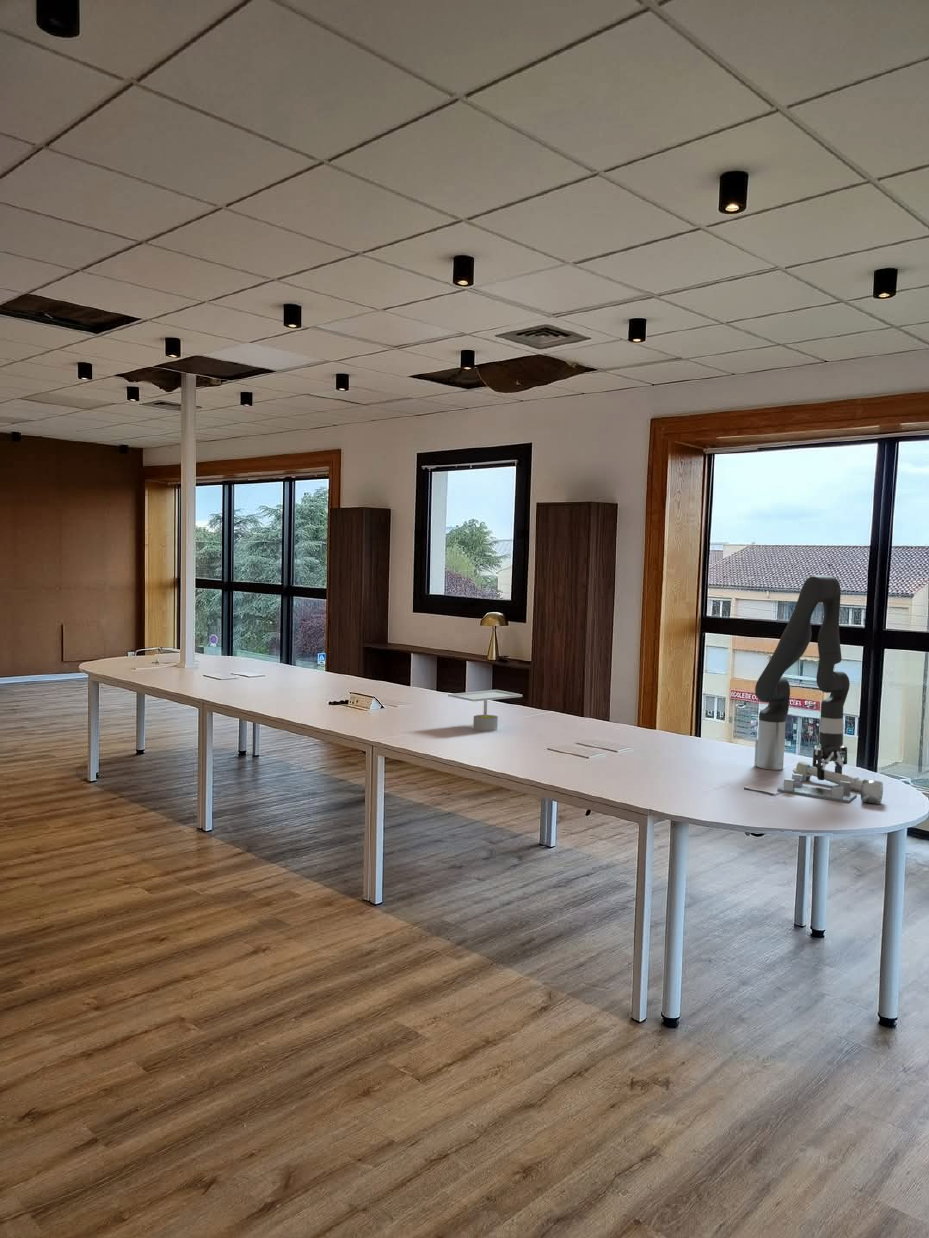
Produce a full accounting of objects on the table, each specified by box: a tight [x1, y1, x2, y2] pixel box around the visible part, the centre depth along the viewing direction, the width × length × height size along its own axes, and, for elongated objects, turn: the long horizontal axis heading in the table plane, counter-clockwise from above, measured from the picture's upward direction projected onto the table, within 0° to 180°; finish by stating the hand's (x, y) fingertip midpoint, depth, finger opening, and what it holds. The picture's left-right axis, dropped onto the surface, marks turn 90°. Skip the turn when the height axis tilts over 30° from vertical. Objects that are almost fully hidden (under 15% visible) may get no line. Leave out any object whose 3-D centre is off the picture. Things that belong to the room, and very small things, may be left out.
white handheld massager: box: [792, 761, 864, 793], centre depth 309 cm, size 5×7×25 cm
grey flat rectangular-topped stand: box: [447, 689, 523, 732], centre depth 395 cm, size 28×17×15 cm, turn 129°
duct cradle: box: [776, 773, 884, 805], centre depth 293 cm, size 30×10×7 cm, turn 54°
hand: (829, 778), depth 308 cm, fingers open, 8 cm apart
